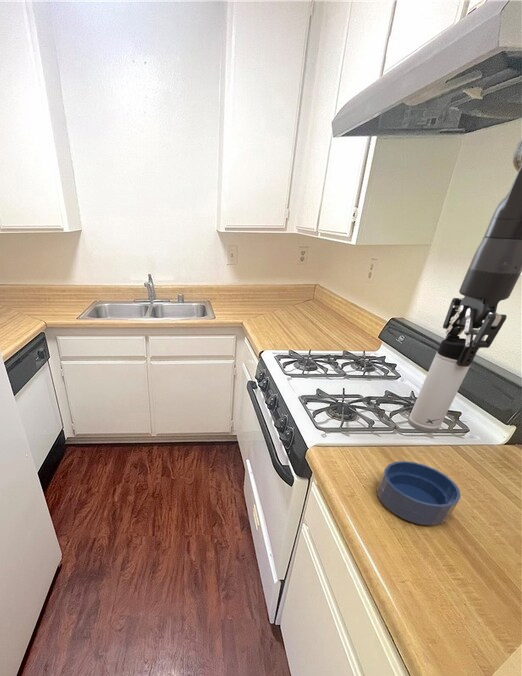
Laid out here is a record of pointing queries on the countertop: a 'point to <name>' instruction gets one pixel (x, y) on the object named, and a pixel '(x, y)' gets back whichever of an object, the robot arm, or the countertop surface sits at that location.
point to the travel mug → (439, 387)
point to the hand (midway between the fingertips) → (453, 358)
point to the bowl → (417, 493)
